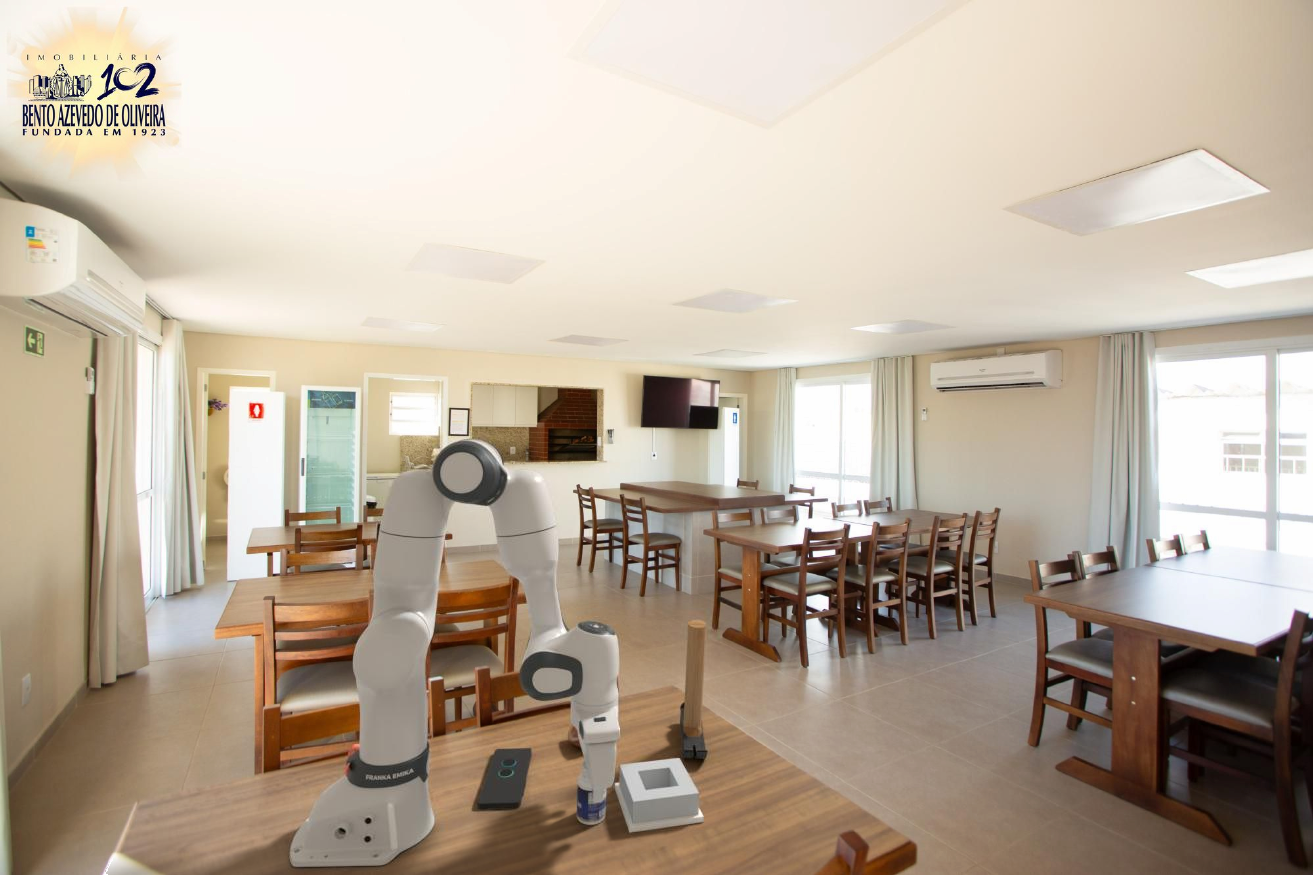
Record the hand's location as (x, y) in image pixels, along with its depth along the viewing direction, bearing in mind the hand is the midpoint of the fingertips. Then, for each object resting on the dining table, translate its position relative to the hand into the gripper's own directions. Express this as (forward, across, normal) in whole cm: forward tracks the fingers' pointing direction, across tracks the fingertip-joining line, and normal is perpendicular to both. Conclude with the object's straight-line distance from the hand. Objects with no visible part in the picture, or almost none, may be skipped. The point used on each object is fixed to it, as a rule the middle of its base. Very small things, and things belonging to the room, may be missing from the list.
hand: (593, 785), depth 112 cm
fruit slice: (+6, -26, +2) cm, 27 cm away
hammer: (+6, -22, +27) cm, 35 cm away
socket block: (+6, -1, +13) cm, 14 cm away
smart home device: (+6, -16, -15) cm, 23 cm away
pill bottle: (+6, 0, 0) cm, 6 cm away
